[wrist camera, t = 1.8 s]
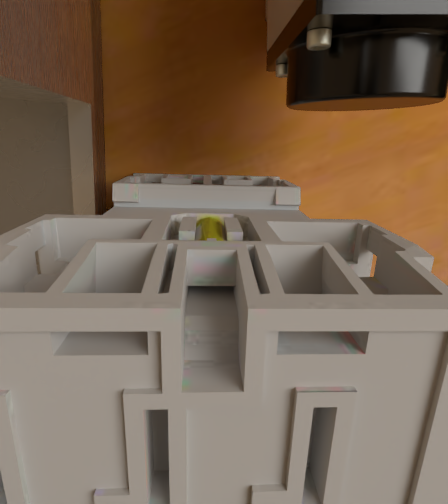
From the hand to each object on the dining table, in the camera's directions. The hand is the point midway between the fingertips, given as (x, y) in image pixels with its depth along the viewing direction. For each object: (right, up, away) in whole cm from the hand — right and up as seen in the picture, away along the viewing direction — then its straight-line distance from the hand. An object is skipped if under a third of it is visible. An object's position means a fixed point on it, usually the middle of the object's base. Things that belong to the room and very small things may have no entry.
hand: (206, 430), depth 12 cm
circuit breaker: (-1, +3, +9) cm, 10 cm away
